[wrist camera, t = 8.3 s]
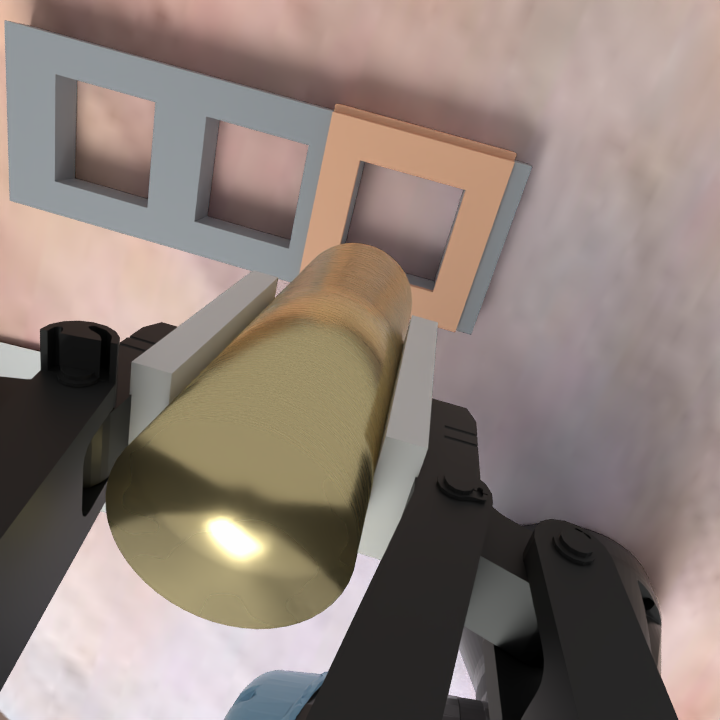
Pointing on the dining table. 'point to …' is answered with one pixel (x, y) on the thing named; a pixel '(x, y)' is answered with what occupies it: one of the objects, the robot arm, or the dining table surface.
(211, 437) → the brass peg
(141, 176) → the dining table surface
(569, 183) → the dining table surface
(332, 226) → the hole plate
